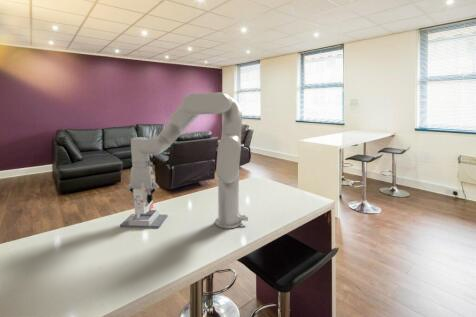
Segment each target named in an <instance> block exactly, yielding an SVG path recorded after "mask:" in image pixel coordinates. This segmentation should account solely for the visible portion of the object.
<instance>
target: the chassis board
mask: <svg viewBox="0 0 476 317" xmlns="http://www.w3.org/2000/svg"><path fill="white" fill-rule="evenodd" d="M168 217H169V216H168V214H160V209H151V210H149V211H148V212H147V213H145V214H135V213H131V214H130V215H129V216H128V217H127V218H126V219H125V220H123V221H122V223H120V224H119V228H142V229H160V228H161V226H162V225H163V224H164V222H165V220H166V219H167V218H168Z"/></svg>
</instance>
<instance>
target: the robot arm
mask: <svg viewBox="0 0 476 317" xmlns="http://www.w3.org/2000/svg"><path fill="white" fill-rule="evenodd" d="M242 113H243V112H242V110H241V107H240V104H239V103H238V101H236V100H235V99H234V97H232V96H230V95H229V94H227V93H225V92H220V91H218V92H203V93H199V92H197V93H196V92H195V93H188V94H187V95H185V96H184V98H183V99H182V103H181V104H180V105H179V107H177V109H176V110H175V111H174V112H173V113H172V114H170V116H169V119H168V123H166V126H165V127H164V128H163V129H162V131H160V133H158V135H157V136H154V137H152V138H147V137H144V136H143V137H141V136H138V137H133V138H131V140H130V150H131V151H130V152H131V153H130V154H131V163H132V164H131V165H132V167H130V168H131V169H130V174H129V175H130V176H129V177H130V178H129V179H130V180H129V183H128V184H127V185H126V189H128V190H129V191H130V192H131V194H133V189H135V188H142V186H141V184H142V183H143V182H144V186H145V189H147V191H148V203H150V202H151V201H152V200H153V201H154V199H153V193H154V192H155V191H157V190H158V189H159V188H160V186H159V185H158V183H156V182H155V175H154V170H153V165H154V164H153V163H154V162H152V161H151V160H150V156H157V155H160V154H162V153H163V152H164V151H166V150H168V148H170V147H171V146H172V145H173V143H174V142H175V141H176V140H177V139H178V138H179V137H180V136H181V135H182V134H183V133H184V131H186V130H187V129H188V127H189V126H190V125H191V124H192V123H193V122H194V121H195V120H196V119H197V118H199V116H200V115H213V114H214V115H219V114H221V115H222V130H221V138H220V140H219V142H218V145H217V152H216V153H217V155H216V167H215V168H216V169H215V174H216V177H217V179H218V180H217V186H218V188H217V189H218V190H217V192H218V193H217V198H218V200H217V201H218V203H217V204H218V206H217V207H218V208H217V209H218V212H217V213H218V216H217V218H216V219H215V220H214V224H215V226H217V227H218V228H221V229H235V228H238V227H240V226H241V225H242V223H243V221H244V222H249V216H246V214H240V211H239V205H240V203H239V200H240V199H239V198H240V197H239V195H240V193H239V192H240V189H239V188H240V161H241V153H242V152H241V151H242V150H241V148H242V127H243V126H242V125H243V114H242Z"/></svg>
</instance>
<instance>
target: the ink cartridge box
mask: <svg viewBox="0 0 476 317" xmlns="http://www.w3.org/2000/svg"><path fill="white" fill-rule="evenodd" d="M141 186H142V188H135V189H133V193H132V195H133V202H134V204H133V205H134V214H145V213H147V212H148V211H149V210H153V209H154V199H153V200H152V201H151V202H150V203H148V191H147V189H145V186H144V182H143V183H142V184H141Z"/></svg>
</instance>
